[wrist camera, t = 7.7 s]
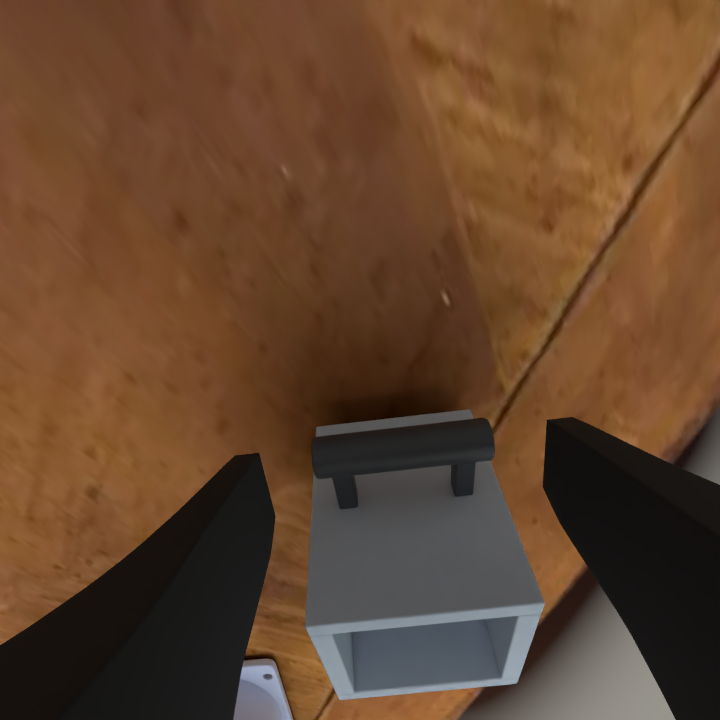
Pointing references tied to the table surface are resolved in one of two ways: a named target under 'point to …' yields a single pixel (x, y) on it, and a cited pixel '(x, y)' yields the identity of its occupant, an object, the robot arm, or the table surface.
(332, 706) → the table surface
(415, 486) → the handled open box
